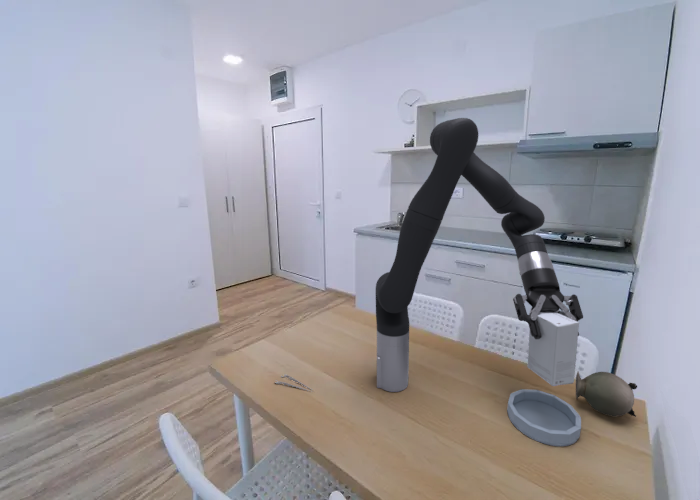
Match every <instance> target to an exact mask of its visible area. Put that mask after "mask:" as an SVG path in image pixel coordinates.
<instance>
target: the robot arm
mask: <svg viewBox="0 0 700 500" xmlns="http://www.w3.org/2000/svg"><path fill="white" fill-rule="evenodd" d="M429 136H430V137H429V144H430V147H431V150H432V152H433V153H434V154H435V155H436V156H437V157H436V160H435V163H434V165H433V167H432V170H431V172H430V174H429V175H428V177H427V179H426V180H425V181H424V183H422V185H421V187H420V188H419V189H418V190H417V192H416V193H415V195H414V196H413V197H412V199H411V201H410V203H409V205H408V208H407V210H406V212H405V215H404V217H403V220H402V223H401V227H400V231H399V235H398V241H397V247H396V253H395V257H394V259H393V263H392V265H391V267H390V270H389V271H388V272H385V273H384V274H382V275H380V276H379V277H378V279H377V281H376V283H375V319H376V388H377V389H381V390H384V391H387V392H389V393H390V392H392V393H396V392H397V393H398V392H401V391H404V390H406V389H407V387H408V385H409V371H410V370H409V364H410V363H409V361H410V359H409V357H410V355H409V353H410V318H409V309H408V308H409V305H410V304H411V303H412V300H413V297H414V292H415V289H416V286H417V282H418V278H419V275H420V273H421V270H422V267H423V265H424V263H425V261H426V259H427V256H428V254H429V252H430V251H431V247H432V245H433V242H434V240H435V239H436V235H437V234H438V231H439V230H440V228H441V224H442V221H443V219H444V216H445V213H446V212H447V208H448V206H449V204H450V201H451V199H452V197H453V195H454V192H455V190H456V186H457V185H458V183H459V180H460V178H461V176H462V177H464V179H465V180H466V181H467V182H468V183H469V184H470V185H471V186H472V187H473V188H474V189H475V190H476V191H477V193H478V194H479V195H480V196H481V197H482V198H483V199H484V200H485V201H486V202H487V204H488V205H489V206H490V207H491V208H492V209H493V211H495V212H496V213H497V214H500V215H504V216H503V217H502V219H501V228H502V230H503V232H504V233H505V235H506V237H507V238H508V239H509V240H510V242H511V245H512V246H513V248H514V251H515V254H516V255H515V256H516V258H517V264H518V265H517V266H518V270H519V271H518V272H519V275H520V279H521V282H522V286H523V289H524V293H525V295H522V294H521V293H517V294H515V296H514V297H512V301H513V305H514V308H515V311H516V315H517V318H518V321H520V322H522V321H524V322H526V323H527V324H528V327H529V333H530V332H531V335H532V337H534V338H535V339H540V338H541V337H542V335H541V331H540V328H539V324H538V321H536V319H537V316H538V314H539V312H547V311H548V312H557V313H559V314H561V315H563V316H566V317H568V318H570V319H572V320H575V321H577V322H579V321H580V320H582V319H583V318H584V315H583V310H582V308H581V304H580V301H579V298H578V295H576V294H574V293H573V294H572V295H564V294H563V293H562V291H561V288H560V283H559V280H558V277H557V274H556V271H555V268H554V264H553V262H552V259H551V258H550V256H549V253H548V249H547V248H546V243H545V241H544V239H543V238H542V236H540V235H539V234H535V233H534V234H531V233H530V232H532V231H535V230H538V229H540V228H541V227H542V226H543V225H544V223H545V214H544V212H543V211H542V209H541V208H540V207H539V206H538V205H536V204H534V203H533V202H531V201H529V200H528V199H526V198H525V197H523V196H522V195H520V194H519V193H518V192H517V191H516V189H514V187H513V186H512V185H511V184H510V182H508V180H507V179H506V178H505V177H504V176H503V175H502V174H500V173H499V172H498V171H497V170H495V168H493V167H491V166H490V165H488V163H486V162H485V161H483V160H482V159H481V158H480V157H479V156H478V155H476V153H475V152H474V151H475V150H476V147H477V144H478V140H479V129H478V126H477V124H476V123H475V122H474V121H473V120H472V119H470V118H468V117H459V118H453V119H449V120H446V121H442V122H440V123H439V124H436V126H434V127H433V129H432V130H431V133H430V135H429ZM529 233H530V234H529ZM526 303H527V304H528V305H530V307H531V308H530V310H529V313H528V312H527V308H526V306H525V304H526ZM564 303H565V304H564ZM567 306H568V307H567ZM531 313H532V314H531ZM579 332H580V331H578V337H579V336H580V333H579Z"/></svg>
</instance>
